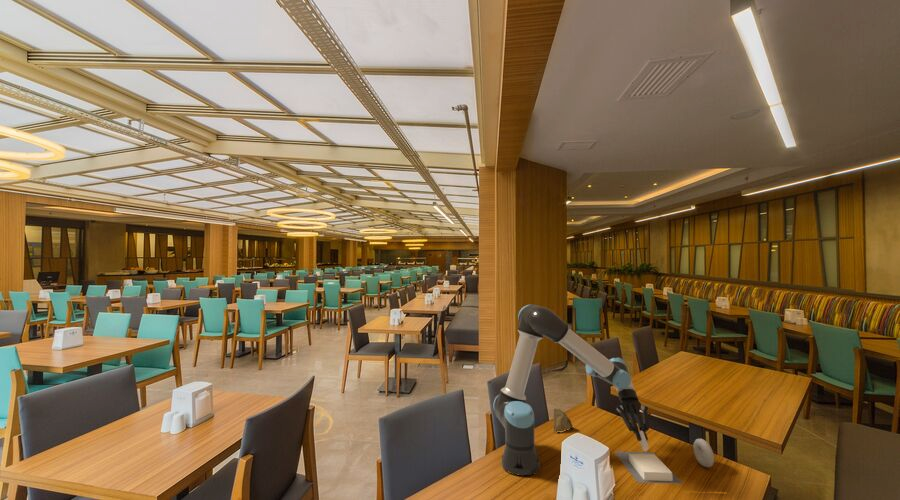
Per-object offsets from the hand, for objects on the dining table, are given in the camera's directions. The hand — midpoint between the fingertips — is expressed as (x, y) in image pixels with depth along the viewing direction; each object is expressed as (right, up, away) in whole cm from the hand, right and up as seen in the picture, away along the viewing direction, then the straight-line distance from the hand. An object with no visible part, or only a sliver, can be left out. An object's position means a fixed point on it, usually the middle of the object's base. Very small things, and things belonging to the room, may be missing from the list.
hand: (646, 449), depth 141 cm
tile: (0, -5, +3) cm, 6 cm away
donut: (+23, -7, 0) cm, 24 cm away
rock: (-22, -9, +33) cm, 41 cm away
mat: (-1, -7, -1) cm, 7 cm away
